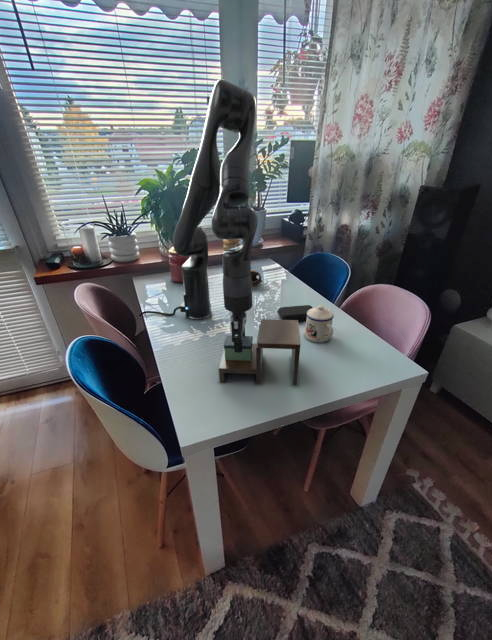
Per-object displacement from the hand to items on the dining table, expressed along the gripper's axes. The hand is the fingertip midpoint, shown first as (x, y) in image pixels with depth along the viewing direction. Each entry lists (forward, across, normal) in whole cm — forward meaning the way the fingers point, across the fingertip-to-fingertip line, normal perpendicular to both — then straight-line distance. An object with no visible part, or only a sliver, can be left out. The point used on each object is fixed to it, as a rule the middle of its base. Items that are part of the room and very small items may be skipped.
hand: (240, 344), depth 93 cm
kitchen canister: (+8, -77, -36) cm, 86 cm away
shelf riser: (+9, 0, +6) cm, 10 cm away
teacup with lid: (+9, -20, +26) cm, 34 cm away
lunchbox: (+4, 0, 0) cm, 4 cm away
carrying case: (+9, -36, +19) cm, 41 cm away
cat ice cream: (-2, -102, -15) cm, 103 cm away
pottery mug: (+9, -69, -2) cm, 70 cm away
